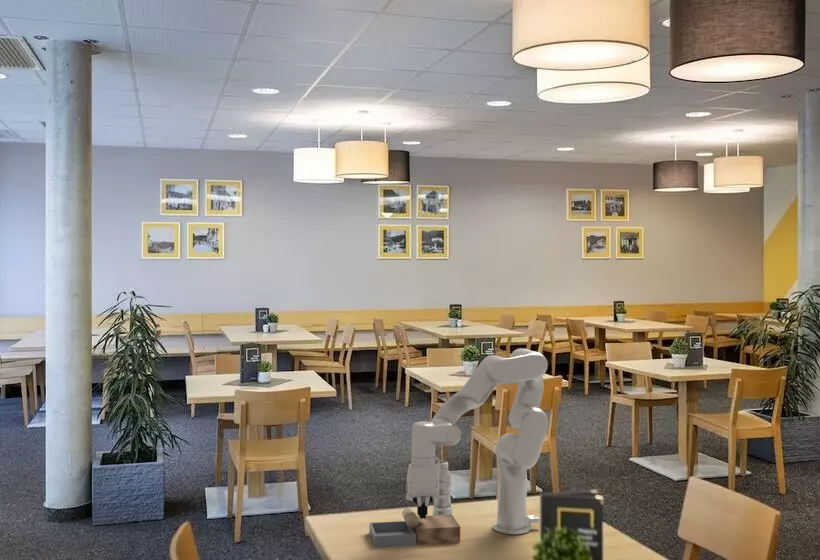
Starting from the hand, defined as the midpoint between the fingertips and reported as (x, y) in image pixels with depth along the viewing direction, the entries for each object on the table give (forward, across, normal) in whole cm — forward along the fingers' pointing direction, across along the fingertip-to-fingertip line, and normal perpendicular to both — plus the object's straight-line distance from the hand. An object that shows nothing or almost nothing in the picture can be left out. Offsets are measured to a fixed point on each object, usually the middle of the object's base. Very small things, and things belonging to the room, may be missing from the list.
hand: (422, 517), depth 263 cm
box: (+7, +10, 0) cm, 12 cm away
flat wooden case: (+7, -4, 0) cm, 8 cm away
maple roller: (-2, +5, 0) cm, 5 cm away
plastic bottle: (+7, -10, -16) cm, 20 cm away
